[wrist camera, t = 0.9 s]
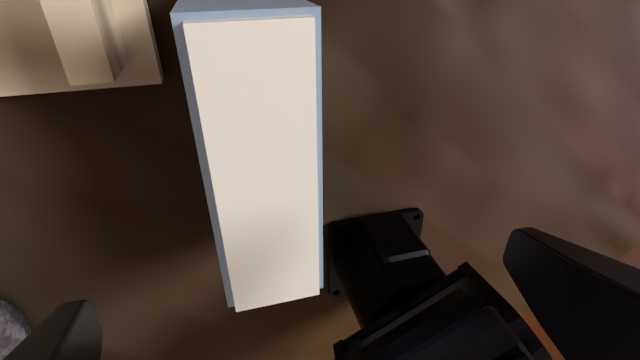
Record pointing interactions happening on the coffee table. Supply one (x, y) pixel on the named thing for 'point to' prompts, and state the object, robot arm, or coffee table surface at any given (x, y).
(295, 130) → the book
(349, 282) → the robot arm
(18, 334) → the geode
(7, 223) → the coffee table surface
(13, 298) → the coffee table surface
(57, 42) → the rack
